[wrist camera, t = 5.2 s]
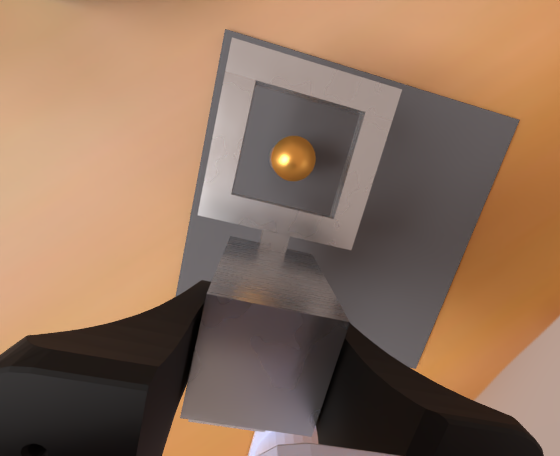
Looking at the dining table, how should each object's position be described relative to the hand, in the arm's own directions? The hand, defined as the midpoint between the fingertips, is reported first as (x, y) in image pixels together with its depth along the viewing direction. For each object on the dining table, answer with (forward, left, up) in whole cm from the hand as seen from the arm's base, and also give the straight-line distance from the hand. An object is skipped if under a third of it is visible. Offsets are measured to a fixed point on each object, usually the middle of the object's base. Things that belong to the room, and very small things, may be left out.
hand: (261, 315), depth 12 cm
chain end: (+1, 0, -3) cm, 3 cm away
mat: (+3, -5, -8) cm, 10 cm away
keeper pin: (+6, 0, -8) cm, 10 cm away
